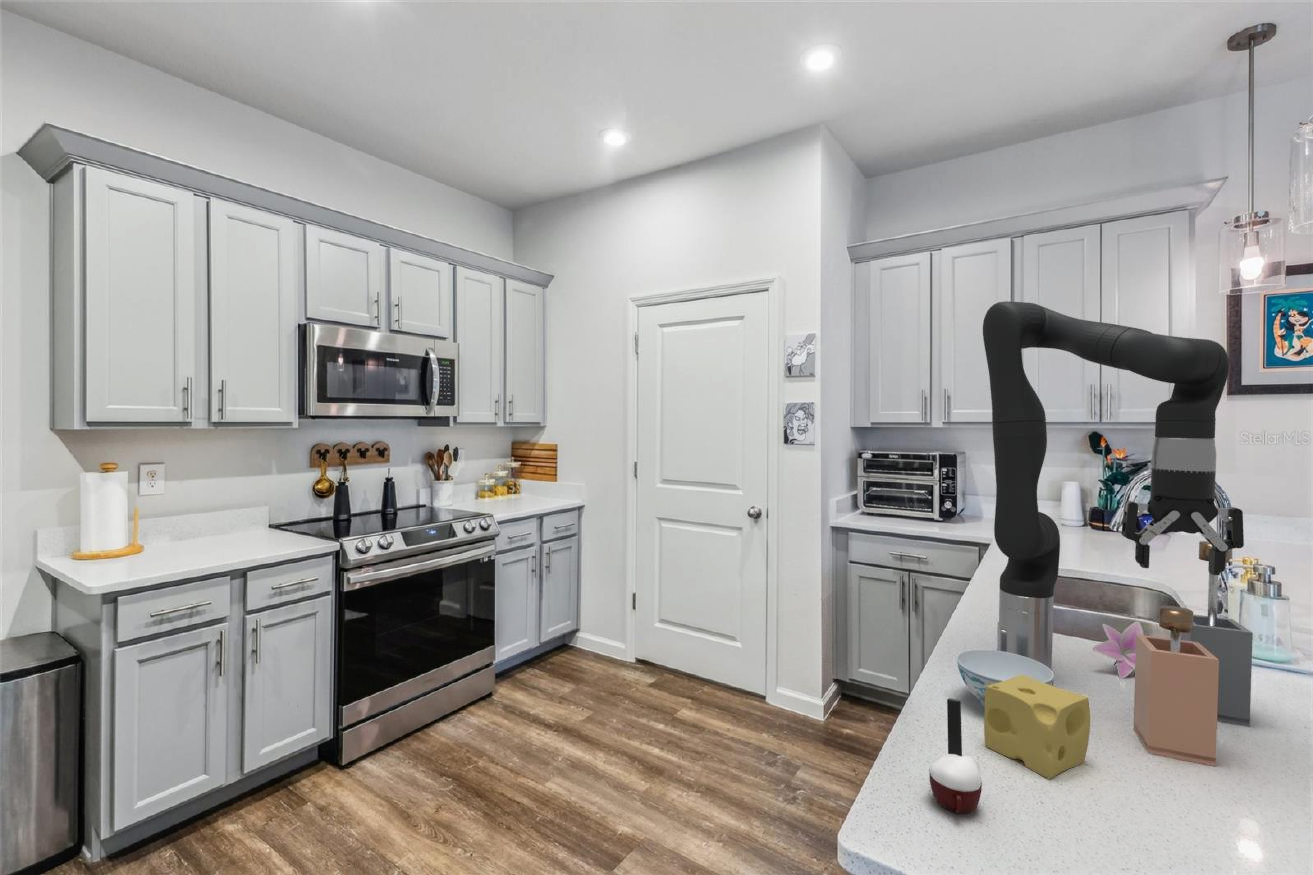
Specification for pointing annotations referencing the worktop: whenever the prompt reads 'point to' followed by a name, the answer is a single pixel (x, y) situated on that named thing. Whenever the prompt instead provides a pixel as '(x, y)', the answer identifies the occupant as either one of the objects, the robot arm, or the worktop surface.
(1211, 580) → the tall bronze-capped rod
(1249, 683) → the grey square holder
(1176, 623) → the bronze knob plunger
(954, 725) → the rounded three-tone fixture
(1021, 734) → the cheese
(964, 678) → the chinaware
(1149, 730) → the press terracotta
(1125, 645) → the lily
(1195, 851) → the worktop surface
